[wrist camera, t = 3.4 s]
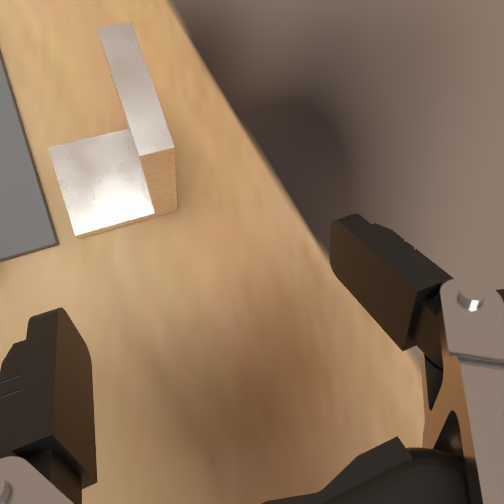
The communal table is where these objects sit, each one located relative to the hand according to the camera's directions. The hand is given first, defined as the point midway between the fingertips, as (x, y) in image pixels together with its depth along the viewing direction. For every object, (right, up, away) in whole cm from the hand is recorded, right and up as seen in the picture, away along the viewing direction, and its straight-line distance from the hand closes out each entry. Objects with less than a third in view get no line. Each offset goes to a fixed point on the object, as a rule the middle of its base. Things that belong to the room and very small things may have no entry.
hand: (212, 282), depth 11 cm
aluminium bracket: (-8, +6, +14) cm, 17 cm away
